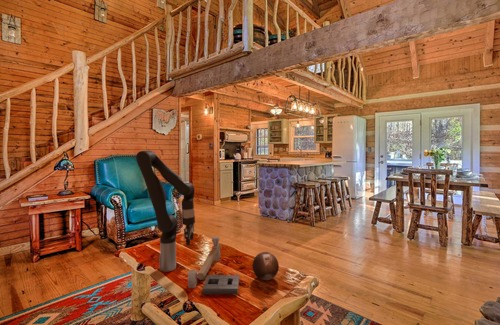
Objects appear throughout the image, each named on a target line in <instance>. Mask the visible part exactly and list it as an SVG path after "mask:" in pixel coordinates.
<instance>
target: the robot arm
mask: <svg viewBox="0 0 500 325" xmlns="http://www.w3.org/2000/svg"><path fill="white" fill-rule="evenodd" d="M135 156H136V157H135V160H136V163H137V165H138V167H139V171H140V173H141V175H142V178H143V180H144V184H145V186H146V189H147V193H148V195H149V198H150V201H151V204H152V208H153V211H154V214H155V215H154V216H155V218H156V223H157V227H158V229H159V230H160V231H161V235H160V238H159V242H160V243H159V244H160V246H159V248H160V249H159V250H160V251H159V252H160V254H159V255H158V258H159V259H158V261H159V266H158V267H159V271H161V272H166V273H167V272H171V271H174V270H176V269H177V242H176V241H177V240H176V239H177V231H178V221H177V218H176V217H175V215H173V214H171V213H170V214H169V213H168V210H167V209H168V208H167V195H166V190H165V188H164V184H163V182H162V181H161V180H160V179H159V177H158V176H157V175H156V173H155V171H154V170H153V168H154V169H155V170H157V171H158V173H159V174H160V175H161V177H162V178H163V180H165V181H166V182H168V184H170V185H171V186H172V187H173V188H174V189H175V191H176V192H177V193H178V194H180V195H182V196H183V199H182V200H181V219H182V221H181V223H182V225H184V226H185V227H184V229H183V233H184V234H183V235H184V236H183V237H184V239H185V244H186V246H188V245H189V246H190V245H191V241H192V240H194V232H195V223H196V215H195V207H194V206H195V205H194V199H195V186H194V184H193V183H191V182H184V181H183V178H182V177H181V176H180V175H179V174H177V172H175V171H174V170H172V169H171V168H170V167H169V166H168V165H166V163H165V162H163V160H162V159H161V158H160V157H159V156H158V155H157V154H156V153H155V152H153V151H152V150H139V151H138V152H137V153H136V155H135Z"/></svg>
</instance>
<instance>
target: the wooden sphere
mask: <svg viewBox="0 0 500 325" xmlns="http://www.w3.org/2000/svg"><path fill="white" fill-rule="evenodd" d="M279 267H280V264H279V261H278V259H277V257H276V256H275V255H274V254H273V253H271V252H268V251H262V252H260V253H258V254H256V256H255V257H254V258H253V261H252V266H251V268H252V272H253V273H254V275H255V276H256V277H257V278H258V279H260V280H262V281H269V280H272V279H274V278H275V277H276V276H277V274H278V272H279V269H280V268H279Z"/></svg>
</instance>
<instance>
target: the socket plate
mask: <svg viewBox="0 0 500 325" xmlns="http://www.w3.org/2000/svg"><path fill="white" fill-rule="evenodd" d="M205 278H206V279H204V280H205V281H204V284H203V286H202V295H238V294H239V286H240V274H239V275H238V274H206V277H205Z"/></svg>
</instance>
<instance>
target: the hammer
mask: <svg viewBox="0 0 500 325" xmlns="http://www.w3.org/2000/svg"><path fill="white" fill-rule="evenodd" d="M211 238H212V239H211V242H212V244H213V245H212V247H211V250H210V251H209V254H208V256H206V259H205V260H204V262H203V264H202V266H201V268H200V269H199V271H197V280H200V281H204V280H205V278H206V277H207V275H208V272H209V271H210V269H211V267H212V263H213V262H220V258H221V245H220V237H219V236H217V235H214V236H212V237H211Z"/></svg>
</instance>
